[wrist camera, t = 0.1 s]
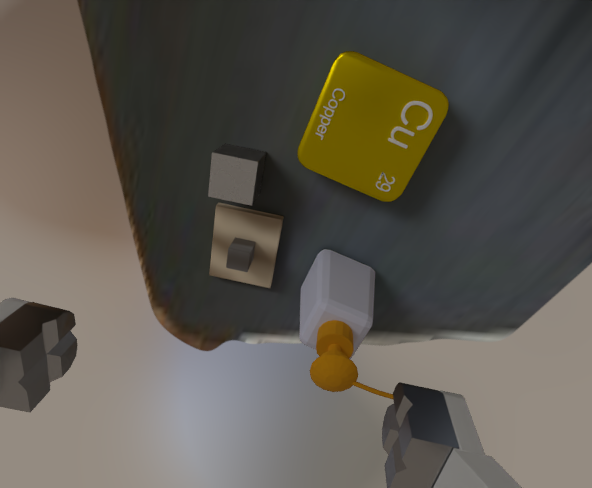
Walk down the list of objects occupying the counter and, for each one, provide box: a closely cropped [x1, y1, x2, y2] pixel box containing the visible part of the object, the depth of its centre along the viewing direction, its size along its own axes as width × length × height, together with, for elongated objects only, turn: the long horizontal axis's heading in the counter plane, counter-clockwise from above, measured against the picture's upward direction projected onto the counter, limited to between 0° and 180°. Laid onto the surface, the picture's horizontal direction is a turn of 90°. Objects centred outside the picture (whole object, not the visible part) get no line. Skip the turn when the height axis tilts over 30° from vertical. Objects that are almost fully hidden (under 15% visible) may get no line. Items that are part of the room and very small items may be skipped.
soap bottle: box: [300, 249, 393, 399], centre depth 53 cm, size 10×14×22 cm
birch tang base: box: [209, 203, 284, 288], centre depth 60 cm, size 12×10×6 cm
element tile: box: [298, 51, 449, 202], centre depth 51 cm, size 15×15×5 cm
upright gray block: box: [208, 143, 266, 206], centre depth 55 cm, size 6×6×6 cm
